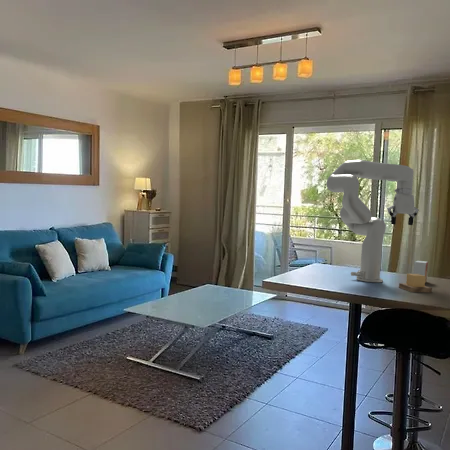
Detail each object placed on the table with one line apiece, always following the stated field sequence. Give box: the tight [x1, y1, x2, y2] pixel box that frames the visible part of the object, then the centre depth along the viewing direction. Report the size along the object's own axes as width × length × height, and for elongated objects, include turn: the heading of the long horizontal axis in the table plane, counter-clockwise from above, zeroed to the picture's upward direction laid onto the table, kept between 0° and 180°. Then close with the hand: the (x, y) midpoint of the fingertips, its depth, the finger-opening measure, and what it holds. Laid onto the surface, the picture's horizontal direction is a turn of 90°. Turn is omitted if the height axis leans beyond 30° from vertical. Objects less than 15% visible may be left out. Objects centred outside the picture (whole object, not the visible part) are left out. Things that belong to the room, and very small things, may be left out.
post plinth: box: [398, 282, 433, 293], centre depth 207 cm, size 10×10×5 cm
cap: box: [405, 273, 426, 287], centre depth 207 cm, size 6×6×5 cm
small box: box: [412, 260, 429, 283], centre depth 231 cm, size 8×6×10 cm
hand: (401, 224), depth 237 cm, fingers open, 9 cm apart
